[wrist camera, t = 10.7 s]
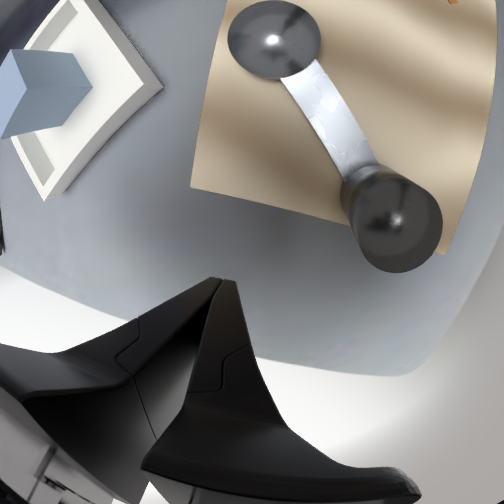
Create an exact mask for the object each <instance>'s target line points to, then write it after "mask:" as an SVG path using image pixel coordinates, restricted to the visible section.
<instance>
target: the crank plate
mask: <svg viewBox="0 0 504 504" xmlns="http://www.w3.org/2000/svg"><path fill="white" fill-rule="evenodd" d="M261 1H267V0H227V3H226V7H225V10H224V14H223V18H222V22H221V25H220V29H219V33H218V37H217V42H216V46H215V50H214V54H213V59H212V63H211V68H210V73H209V77H208V82H207V87H206V92H205V97H204V103H203V108H202V113H201V119H200V125H199V131H198V137H197V143H196V149H195V156H194V162H193V169H192V177H191V184H190V187H191V188H196V189H200V190H205V191H210V192H214V193H219V194H224V195H228V196H233V197H237V198H241V199H246V200H250V201H254V202H258V203H263V204H267V205H271V206H275V207H279V208H283V209H287V210H291V211H295V212H299V213H303V214H307V215H310V216H314V217H318V218H322V219H325V220H329V221H333V222H336V223H340V224H343V225H347V226H350V223H349V221H348V219H347V217H346V215H345V213H344V211H343V208H342V206H341V202H340V189H341V185H342V183H343V181H344V180H343V178H342V176H341V174H340V172H339V171H338V169H337V167H336V165H335V164H334V162H333V160H332V158H331V157H330V155H329V153H328V152H327V150H326V148H325V147H324V145H323V143H322V142H321V140H320V138H319V137H318V135H317V133H316V132H315V130H314V129H313V127H312V126H311V124H310V122H309V121H308V119H307V118H306V116H305V115H304V113H303V112H302V110H301V109H300V107H299V106H298V104H297V103H296V101H295V100H294V98H293V97H292V96H291V94H290V93H289V91H288V90H287V88H286V87H285V86H284V84H283V83H282V81H281V80H267V79H263V78H259V77H257V76H254V75H252V74H250V73H249V72H247V71H246V70H245V69H244V68H243V67H241V66H240V65H239V64H238V63H237V62H236V60H235V59H234V58H233V56H232V55H231V53H230V51H229V47H228V42H227V35H228V30H229V27H230V25H231V23H232V21H233V19H234V18H235V17H236V16H237V15H238V13H240V12H241V11H242V10H243V9H245V8H246V7H248V6H250V5H252V4H255V3H257V2H261ZM281 1H286V2H290V3H293V4H295V5H298V6H300V7H301V8H303V9H304V10H306V11H307V12H308V13H309V14H310V15H311V16H312V17H313V18H314V20H315V21H316V23H317V25H318V27H319V30H320V34H321V45H320V49H319V52H318V55H317V57H316V60H317V62H318V63H319V64H320V66H321V67H322V68H323V70H324V71H325V73H326V74H327V76H328V77H329V79H330V80H331V81H332V83H333V84H334V86H335V87H336V89H337V90H338V92H339V94H340V95H341V97H342V98H343V100H344V101H345V103H346V105H347V106H348V108H349V110H350V111H351V113H352V114H353V116H354V118H355V120H356V121H357V123H358V125H359V126H360V128H361V130H362V132H363V134H364V135H365V137H366V139H367V141H368V143H369V145H370V146H371V148H372V150H373V152H374V154H375V156H376V158H377V160H378V162H379V163H380V164H383V165H385V166H387V167H389V168H391V169H392V170H394V171H396V172H398V173H399V174H401V175H403V176H404V177H406V178H408V179H409V180H411V181H413V182H414V183H416V184H417V185H419V186H421V187H422V188H424V189H425V190H427V191H428V192H429V193H430V194H431V195H432V196H433V197H434V198H435V199H436V201H437V203H438V204H439V207H440V209H441V213H442V218H443V229H442V235H441V239H440V241H439V244H438V246H437V248H436V249H435V251H434V252H435V253H438V254H441V255H445V253H446V251H447V249H448V246H449V244H450V242H451V240H452V237H453V235H454V232H455V230H456V228H457V225H458V223H459V220H460V217H461V215H462V212H463V209H464V207H465V204H466V201H467V198H468V195H469V192H470V189H471V186H472V183H473V180H474V177H475V173H476V170H477V166H478V163H479V159H480V155H481V151H482V147H483V143H484V139H485V134H486V130H487V125H488V120H489V114H490V108H491V102H492V95H493V87H494V78H495V67H496V49H497V21H496V4H495V0H281Z"/></svg>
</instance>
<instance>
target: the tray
mask: <svg viewBox="0 0 504 504" xmlns="http://www.w3.org/2000/svg"><path fill="white" fill-rule="evenodd" d="M23 50H42V51H54V52H64V53H72V54H73V55H74V57H75V58H76V60H77V62H78V63H79V65H80V67H81V68H82V70H83V72H84V73H85V75H86V77H87V78H88V80H89V82H90V83H91V85H92V86H93V88H92V89H91V90H90V91H89V93H88V94H87V95H86V96H85V97H84V99H83V100H82V101H81V102H80V103H79V105H78V106H77V107H76V108H75V110H74V111H73V112H72V113H71V115H70V116H69V117H68V119H67V120H66V121H65V123H64V124H63V125H62V126H58V127H53V128H47V129H42V130H38V131H33V132H28V133H24V134H20V135H16V136H12V137H11V139H12V142H13V144H14V146H15V148H16V150H17V152H18V154H19V156H20V158H21V160H22V162H23V164H24V166H25V168H26V170H27V172H28V174H29V176H30V177H31V179H32V181H33V183H34V185H35V186H36V188H37V190H38V192H39V193H40V195H41V197H42V199H43V200H44V201H46V200H48V199H50V198H52V197H54V196H57V195H59V194H61V193H63V192H65V191H66V190H67V188H68V187H69V186H70V185H71V183H72V182H73V181H74V179H75V178H76V177H77V176H78V174H79V173H80V172H81V171H82V170H83V168H84V167H85V166H86V165H87V164H88V162H89V161H90V160H91V159H92V158H93V157H94V155H95V154H96V153H97V152H98V151H99V150H100V149H101V148H102V146H103V145H104V144H105V143H106V142H107V141H108V140H109V139H110V138H111V137H112V136H113V135H114V134H115V133H116V131H117V130H118V129H119V128H120V127H121V126H122V125H123V124H124V123H125V122H126V121H127V120H128V119H129V118H130V117H131V116H133V115H134V114H135V113H136V112H137V111H138V110H139V109H140V108H141V107H142V106H143V105H144V104H145V103H146V102H148V101H149V100H150V99H151V98H152V97H153V96H154V95H155V94H157V93H158V92H159V91H160V90H161V89H162V88H164V87H163V85H162V84H161V83H160V81H159V80H158V78H157V77H156V76H155V74H154V73H153V72H152V70H151V69H150V68H149V66H148V65H147V63H146V62H145V61H144V59H143V58H142V57H141V55H140V54H139V53H138V51H137V50H136V49H135V47H134V46H133V45H132V43H131V42H130V41H129V39H128V38H127V37H126V35H125V34H124V33H123V31H122V30H121V29H120V27H119V26H118V25H117V24H116V22H115V21H114V20H113V18H112V17H111V16H110V14H109V13H108V12H107V11H106V9H105V8H104V7H103V5H102V4H101V3H100V2H99V0H60V1H59V3H58V4H57V5H56V6H55V7H54V9H53V10H52V11H51V12H50V13H49V15H48V16H47V17H46V18H45V20H44V21H43V22H42V24H41V25H40V26H39V28H38V29H37V30H36V32H35V33H34V35H33V36H32V37H31V39H30V40H29V42H28V43H27V45H26V46H25V48H24V49H23Z"/></svg>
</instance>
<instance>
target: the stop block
mask: <svg viewBox="0 0 504 504" xmlns="http://www.w3.org/2000/svg"><path fill="white" fill-rule="evenodd" d="M92 88H93V86H92V85H91V83H90V82H89V80H88V78H87V77H86V75H85V73H84V72H83V70H82V68H81V67H80V65H79V63H78V62H77V60H76V58H75V57H74V55H73V54H72V53H64V52H54V51H42V50H22V49H11V50H10V51H9V53H8V55H7V57H6V58H5V60H4V62H3V64H2V65H1V67H0V140H1V139H4V138H8V137H12V136H16V135H20V134H24V133H28V132H33V131H38V130H42V129H47V128H53V127H58V126H62V125H63V124H64V123H65V121H66V120H67V119H68V117H69V116H70V115H71V113H72V112H73V111H74V110H75V108H76V107H77V106H78V105H79V103H80V102H81V101H82V100H83V99H84V97H85V96H86V95H87V94H88V93H89V91H90V90H91V89H92Z"/></svg>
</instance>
